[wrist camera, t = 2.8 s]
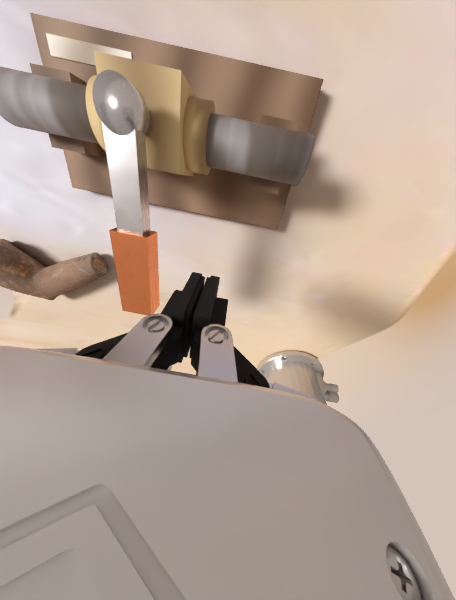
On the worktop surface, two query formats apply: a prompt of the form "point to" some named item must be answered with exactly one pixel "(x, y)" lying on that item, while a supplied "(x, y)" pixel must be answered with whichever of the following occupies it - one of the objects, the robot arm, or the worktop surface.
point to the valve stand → (171, 119)
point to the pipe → (46, 272)
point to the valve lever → (129, 190)
